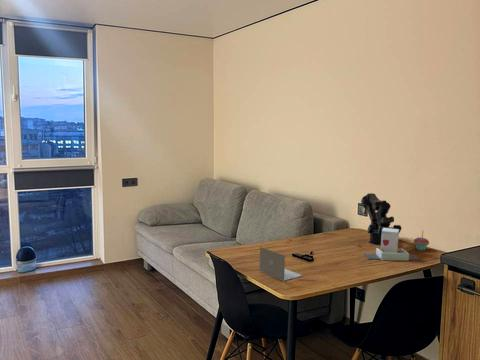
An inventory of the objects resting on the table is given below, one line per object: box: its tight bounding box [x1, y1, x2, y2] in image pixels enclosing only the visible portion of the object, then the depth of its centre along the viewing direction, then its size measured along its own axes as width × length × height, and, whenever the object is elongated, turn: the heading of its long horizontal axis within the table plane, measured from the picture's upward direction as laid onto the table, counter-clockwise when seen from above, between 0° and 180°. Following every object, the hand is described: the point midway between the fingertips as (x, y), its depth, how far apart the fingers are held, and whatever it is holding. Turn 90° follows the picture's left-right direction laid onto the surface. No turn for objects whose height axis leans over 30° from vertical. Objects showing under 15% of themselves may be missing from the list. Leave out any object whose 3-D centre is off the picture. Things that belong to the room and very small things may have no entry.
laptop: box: [258, 246, 303, 282], centre depth 215 cm, size 18×12×13 cm
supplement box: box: [380, 228, 400, 253], centre depth 249 cm, size 9×9×15 cm
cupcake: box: [413, 230, 430, 251], centre depth 263 cm, size 9×8×12 cm
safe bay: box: [363, 247, 422, 262], centre depth 245 cm, size 10×29×4 cm, turn 89°
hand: (387, 241), depth 254 cm, fingers closed
